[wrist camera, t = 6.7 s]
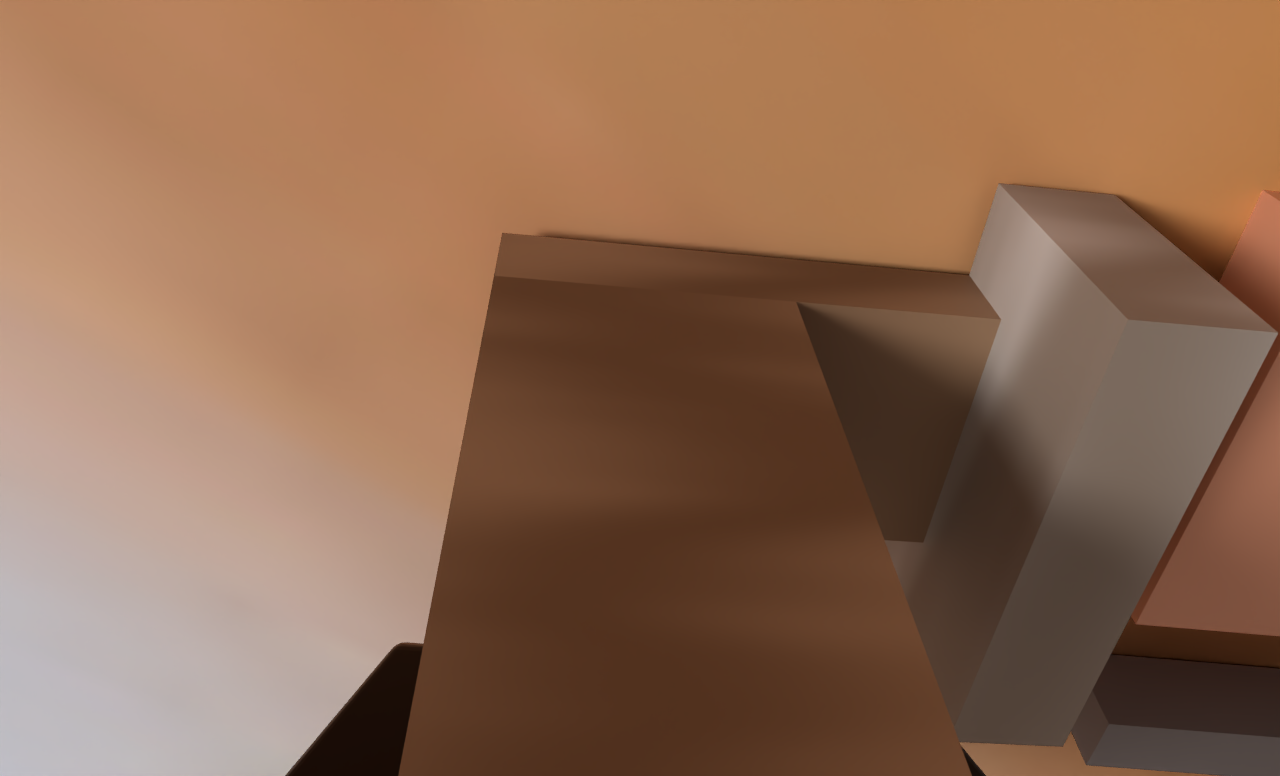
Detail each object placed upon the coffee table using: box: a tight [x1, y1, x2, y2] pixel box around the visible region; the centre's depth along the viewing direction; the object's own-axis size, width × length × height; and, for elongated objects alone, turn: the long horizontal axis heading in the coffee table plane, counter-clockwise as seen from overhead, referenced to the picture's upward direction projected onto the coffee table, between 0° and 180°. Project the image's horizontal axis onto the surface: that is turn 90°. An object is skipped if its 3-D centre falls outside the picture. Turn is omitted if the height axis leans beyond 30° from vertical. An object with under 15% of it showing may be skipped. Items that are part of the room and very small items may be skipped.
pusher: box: [398, 183, 1278, 776], centre depth 10 cm, size 8×6×9 cm
